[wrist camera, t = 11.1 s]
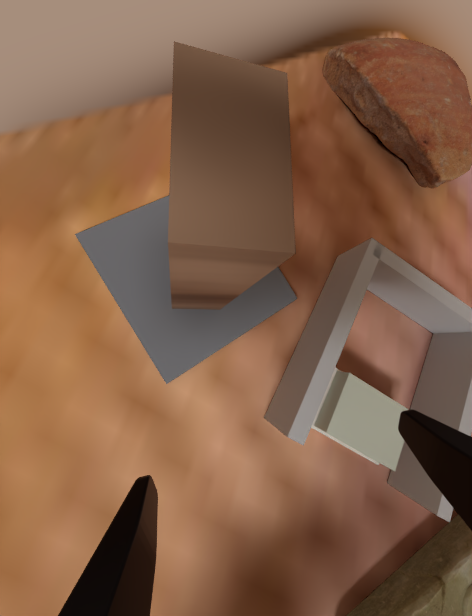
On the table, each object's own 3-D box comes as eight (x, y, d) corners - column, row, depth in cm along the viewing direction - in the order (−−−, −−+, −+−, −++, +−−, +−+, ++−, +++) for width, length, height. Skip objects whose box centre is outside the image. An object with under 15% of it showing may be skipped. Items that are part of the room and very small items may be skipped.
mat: (166, 383, 17) (166, 384, 17) (77, 236, 17) (74, 234, 17) (295, 299, 21) (297, 298, 20) (220, 176, 21) (221, 173, 20)
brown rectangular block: (219, 309, 18) (295, 253, 7) (171, 308, 18) (168, 242, 6) (219, 234, 19) (287, 73, 8) (173, 229, 18) (174, 41, 7)
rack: (398, 489, 20) (449, 522, 17) (263, 417, 19) (287, 437, 15) (445, 328, 24) (496, 326, 20) (337, 255, 22) (371, 237, 18)
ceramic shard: (399, 159, 19) (332, 26, 22) (354, 212, 25) (306, 102, 29) (550, 135, 21) (467, 16, 24) (473, 189, 27) (416, 89, 31)
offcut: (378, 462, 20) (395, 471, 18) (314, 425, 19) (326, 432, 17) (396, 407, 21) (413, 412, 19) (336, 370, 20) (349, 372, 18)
